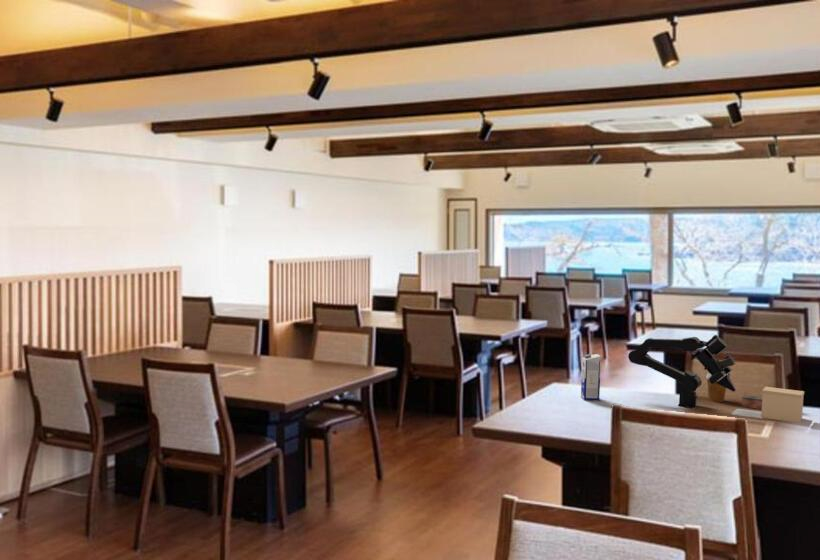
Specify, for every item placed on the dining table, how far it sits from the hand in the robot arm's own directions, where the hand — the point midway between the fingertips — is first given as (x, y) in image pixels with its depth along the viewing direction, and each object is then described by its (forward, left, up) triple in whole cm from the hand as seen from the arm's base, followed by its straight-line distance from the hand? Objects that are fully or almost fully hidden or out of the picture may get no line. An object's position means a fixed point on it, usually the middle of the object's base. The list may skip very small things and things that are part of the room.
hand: (734, 390), depth 326 cm
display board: (+12, 0, -9) cm, 15 cm away
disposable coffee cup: (-11, +19, -9) cm, 24 cm away
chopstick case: (+11, +15, -9) cm, 21 cm away
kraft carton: (+18, 0, -9) cm, 20 cm away
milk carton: (-58, -13, -9) cm, 60 cm away
